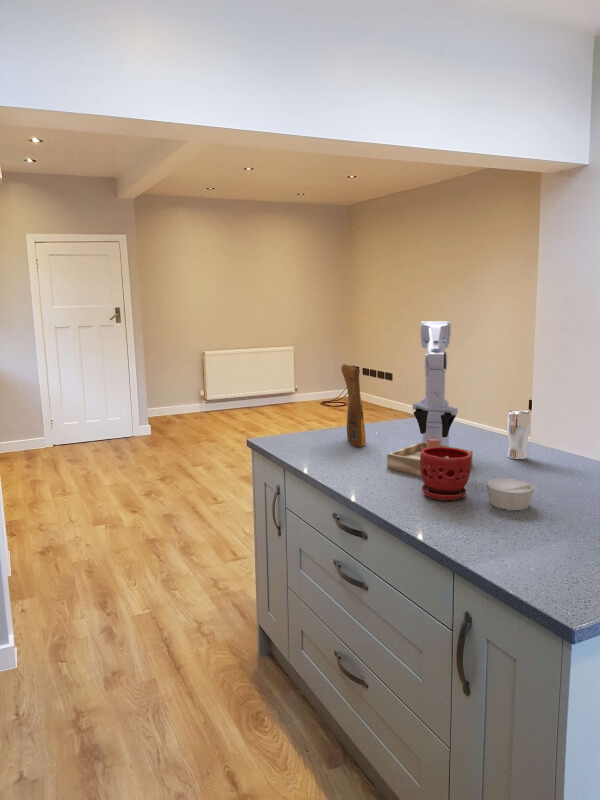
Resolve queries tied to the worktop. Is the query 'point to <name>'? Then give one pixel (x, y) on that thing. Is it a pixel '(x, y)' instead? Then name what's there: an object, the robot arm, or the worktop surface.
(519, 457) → the beer glass
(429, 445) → the peg
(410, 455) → the box
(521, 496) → the ramekin
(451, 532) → the worktop surface
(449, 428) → the robot arm
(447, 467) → the plant pot
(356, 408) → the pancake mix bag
